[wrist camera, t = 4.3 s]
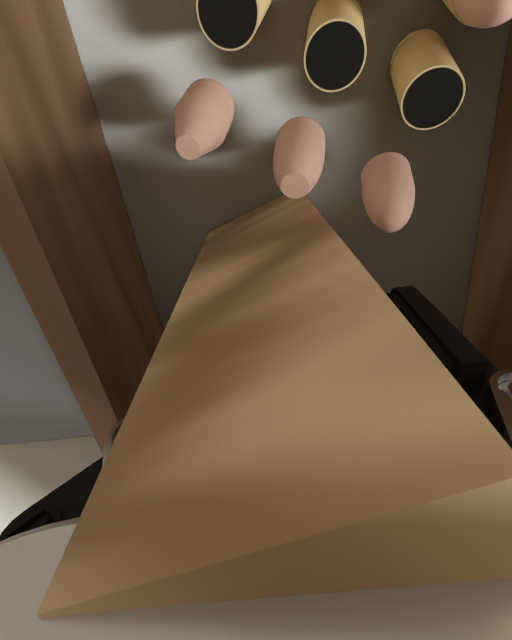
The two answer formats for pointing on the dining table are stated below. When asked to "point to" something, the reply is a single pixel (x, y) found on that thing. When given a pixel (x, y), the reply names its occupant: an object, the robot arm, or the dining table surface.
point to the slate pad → (31, 375)
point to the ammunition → (331, 76)
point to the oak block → (288, 442)
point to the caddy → (116, 232)
